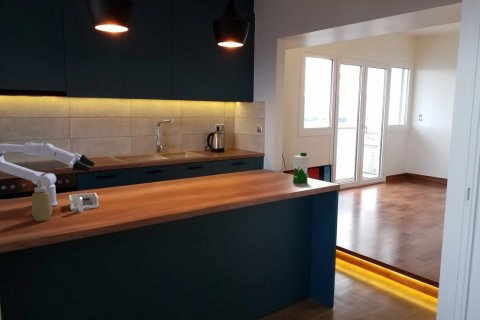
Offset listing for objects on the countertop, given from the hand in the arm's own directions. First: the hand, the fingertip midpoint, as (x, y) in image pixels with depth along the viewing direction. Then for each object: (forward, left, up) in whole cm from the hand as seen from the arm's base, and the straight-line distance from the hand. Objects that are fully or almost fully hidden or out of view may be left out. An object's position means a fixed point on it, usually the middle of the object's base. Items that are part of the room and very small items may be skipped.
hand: (91, 167), depth 186 cm
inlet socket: (-5, -4, -19) cm, 20 cm away
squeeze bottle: (-23, -20, -19) cm, 36 cm away
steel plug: (-8, -14, -19) cm, 25 cm away
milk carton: (+130, 0, -19) cm, 132 cm away
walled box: (-5, -4, -19) cm, 20 cm away
